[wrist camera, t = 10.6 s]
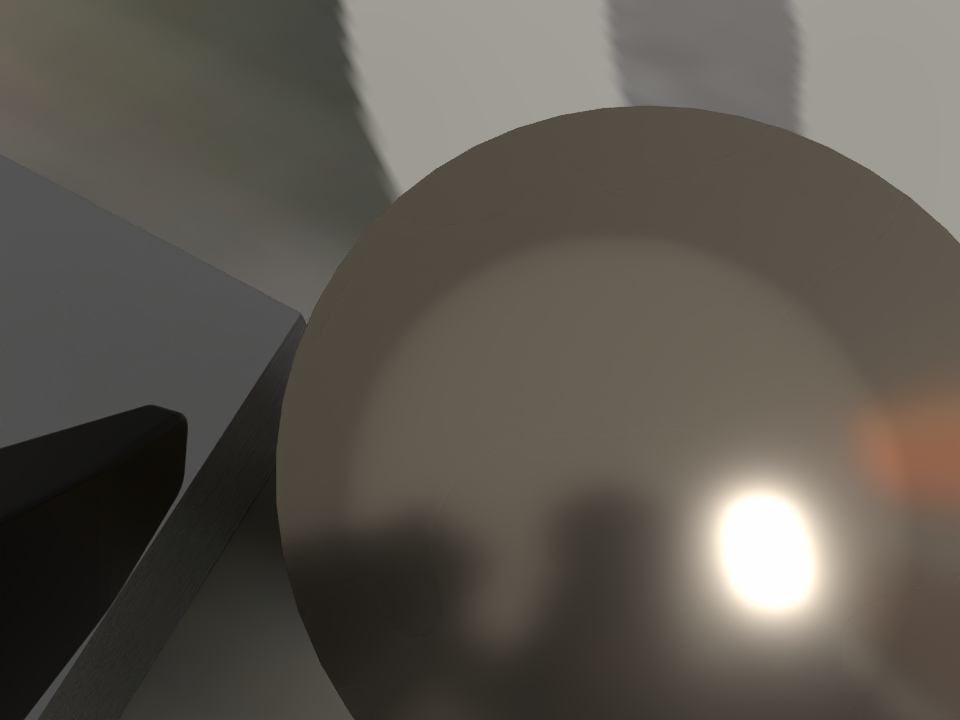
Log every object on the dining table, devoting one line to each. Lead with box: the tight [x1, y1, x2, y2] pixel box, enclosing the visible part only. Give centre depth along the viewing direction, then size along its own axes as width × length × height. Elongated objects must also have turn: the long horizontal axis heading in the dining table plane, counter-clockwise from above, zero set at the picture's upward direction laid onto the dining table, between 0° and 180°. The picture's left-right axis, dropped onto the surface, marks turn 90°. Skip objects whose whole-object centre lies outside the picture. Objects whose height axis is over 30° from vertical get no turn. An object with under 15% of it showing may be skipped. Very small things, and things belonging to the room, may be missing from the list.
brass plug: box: [276, 106, 960, 720], centre depth 12 cm, size 5×5×14 cm
